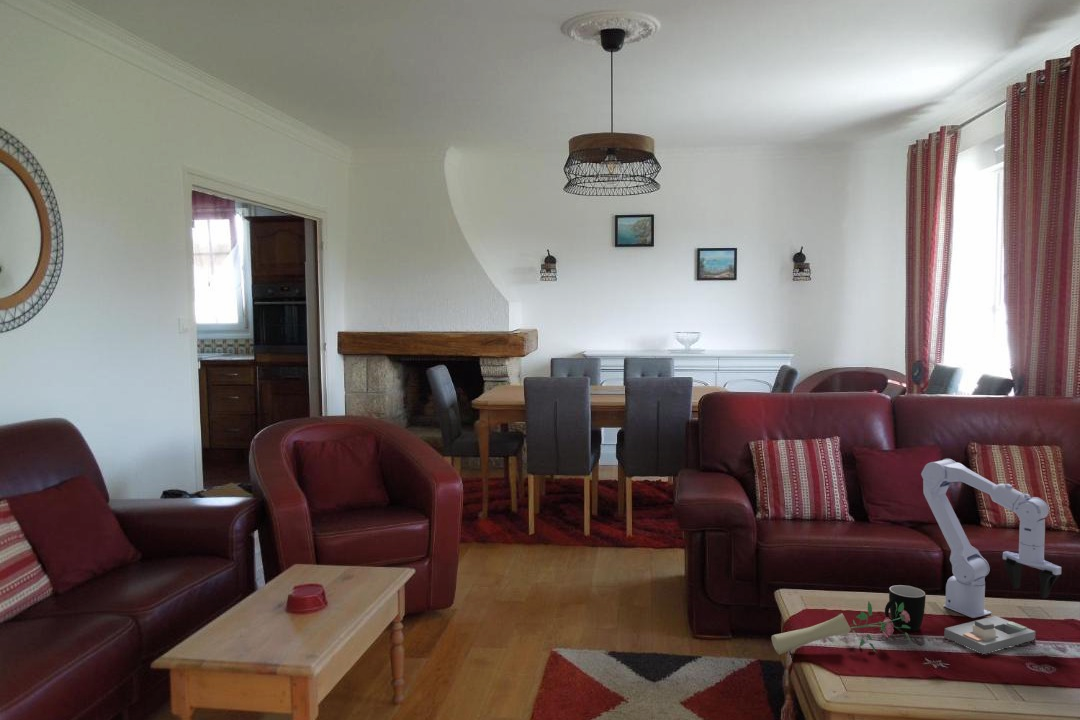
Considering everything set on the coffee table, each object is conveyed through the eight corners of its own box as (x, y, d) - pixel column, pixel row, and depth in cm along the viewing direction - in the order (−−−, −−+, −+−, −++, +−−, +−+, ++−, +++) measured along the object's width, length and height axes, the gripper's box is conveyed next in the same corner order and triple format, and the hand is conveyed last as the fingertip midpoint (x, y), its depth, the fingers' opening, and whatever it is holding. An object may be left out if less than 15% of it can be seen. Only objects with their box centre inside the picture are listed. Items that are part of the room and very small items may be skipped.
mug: (905, 618, 209) (906, 583, 208) (932, 630, 200) (933, 594, 200) (872, 624, 204) (873, 589, 204) (898, 637, 196) (899, 600, 195)
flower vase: (778, 675, 191) (899, 637, 195) (796, 684, 179) (926, 644, 184) (763, 629, 194) (884, 592, 198) (781, 635, 182) (909, 596, 186)
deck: (944, 637, 196) (944, 626, 196) (994, 624, 204) (995, 614, 204) (983, 654, 186) (983, 643, 186) (1035, 640, 194) (1035, 629, 194)
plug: (972, 642, 193) (973, 620, 193) (983, 641, 194) (984, 618, 193) (983, 648, 189) (984, 625, 189) (995, 647, 190) (995, 624, 190)
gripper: (1069, 549, 194) (1067, 599, 195) (1014, 534, 207) (1013, 581, 208) (1052, 552, 191) (1050, 603, 192) (998, 537, 204) (996, 585, 205)
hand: (1030, 592), depth 200 cm, fingers open, 7 cm apart
